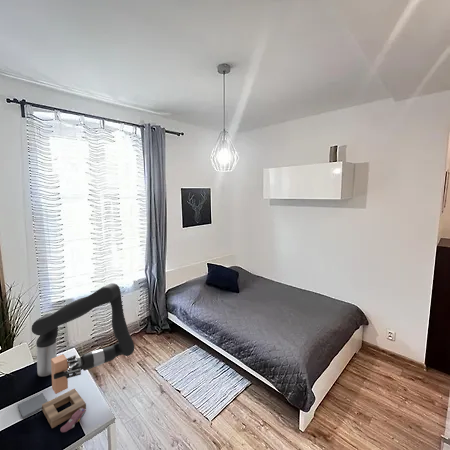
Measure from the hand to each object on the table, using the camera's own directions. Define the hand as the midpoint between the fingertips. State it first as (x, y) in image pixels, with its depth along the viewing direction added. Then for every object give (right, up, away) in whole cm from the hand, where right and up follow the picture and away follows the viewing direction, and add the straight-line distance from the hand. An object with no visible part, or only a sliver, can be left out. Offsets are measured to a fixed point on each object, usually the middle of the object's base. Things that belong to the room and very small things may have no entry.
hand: (53, 373), depth 117 cm
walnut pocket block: (+3, -20, +4) cm, 20 cm away
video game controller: (+12, -21, -4) cm, 25 cm away
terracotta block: (+1, -9, +3) cm, 9 cm away
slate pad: (-13, -19, +5) cm, 23 cm away
